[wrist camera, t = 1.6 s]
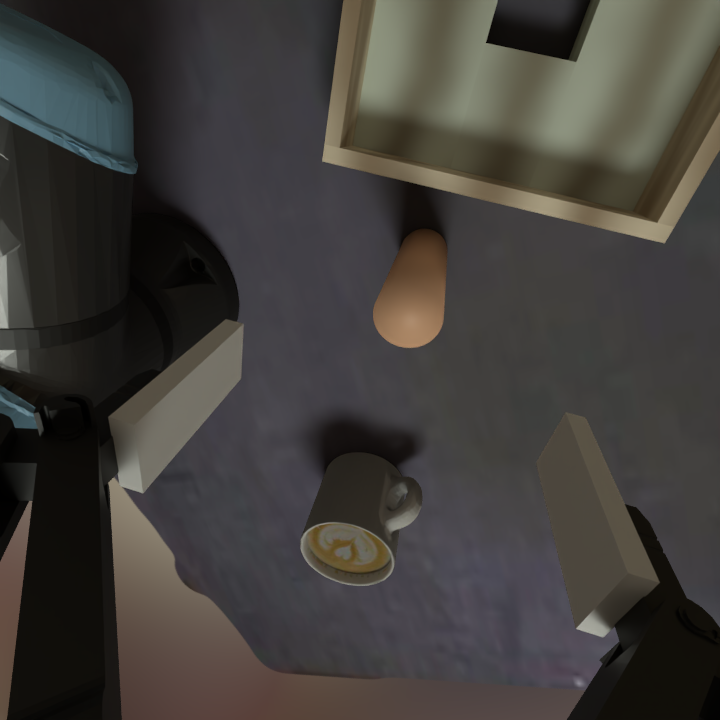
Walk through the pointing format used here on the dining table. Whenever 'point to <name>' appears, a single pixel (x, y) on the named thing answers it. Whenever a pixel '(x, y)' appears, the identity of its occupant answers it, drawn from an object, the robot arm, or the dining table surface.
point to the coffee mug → (359, 519)
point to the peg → (414, 291)
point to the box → (534, 108)
